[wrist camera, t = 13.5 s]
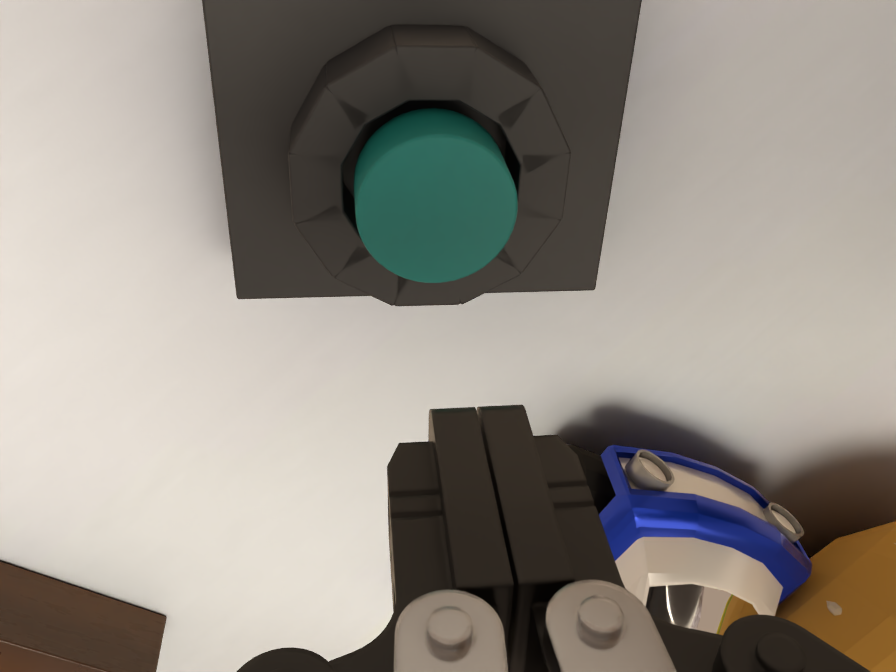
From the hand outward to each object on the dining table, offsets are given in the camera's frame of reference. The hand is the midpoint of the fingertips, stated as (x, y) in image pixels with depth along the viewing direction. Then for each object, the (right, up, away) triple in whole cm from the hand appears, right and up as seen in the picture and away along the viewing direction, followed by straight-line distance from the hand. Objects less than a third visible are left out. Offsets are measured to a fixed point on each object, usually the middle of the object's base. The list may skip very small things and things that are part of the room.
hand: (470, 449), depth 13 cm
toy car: (+6, -6, +19) cm, 21 cm away
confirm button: (-1, +6, +6) cm, 8 cm away
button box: (-1, +7, +9) cm, 12 cm away
